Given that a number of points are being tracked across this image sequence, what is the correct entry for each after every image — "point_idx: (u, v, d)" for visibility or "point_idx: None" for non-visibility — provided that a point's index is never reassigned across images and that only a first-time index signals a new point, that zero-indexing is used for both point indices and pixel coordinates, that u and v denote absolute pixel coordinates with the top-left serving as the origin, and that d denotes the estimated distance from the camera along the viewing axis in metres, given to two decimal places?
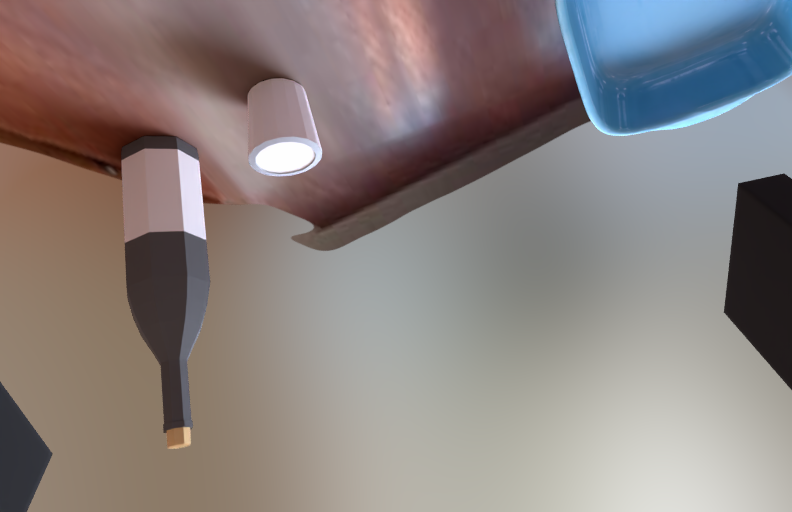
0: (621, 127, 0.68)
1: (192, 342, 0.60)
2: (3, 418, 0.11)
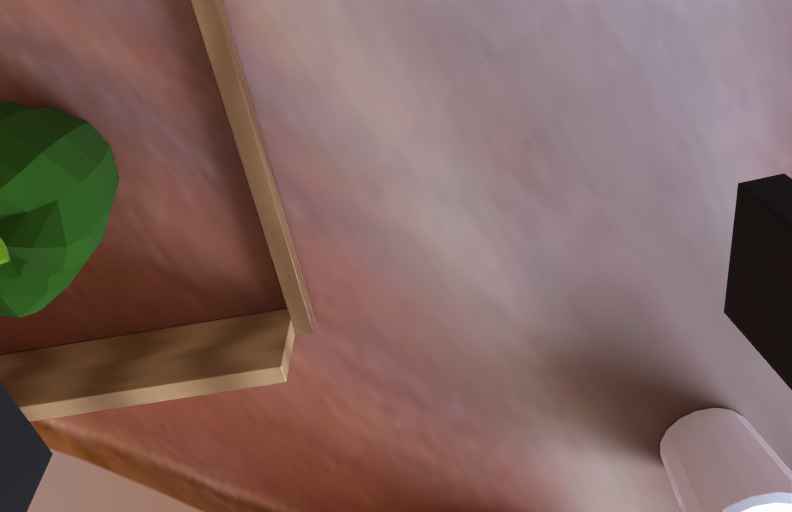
0: None
1: None
2: (3, 418, 0.11)
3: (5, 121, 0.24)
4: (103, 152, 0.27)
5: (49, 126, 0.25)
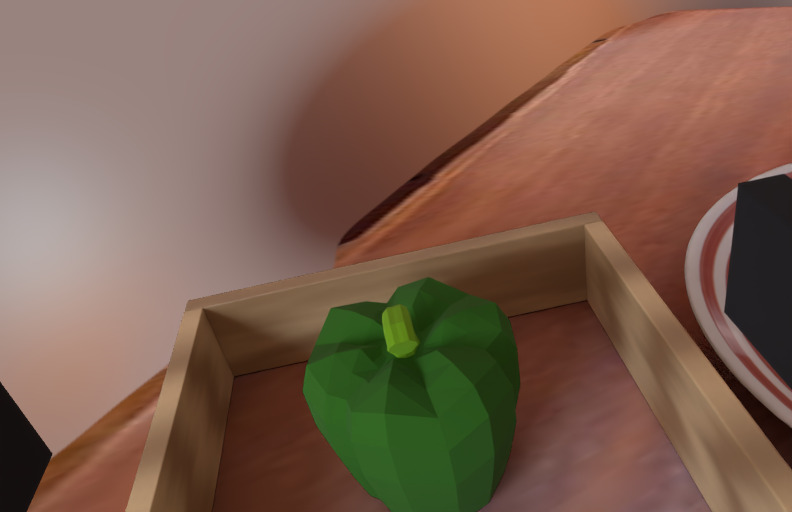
0: None
1: None
2: (3, 418, 0.11)
3: (513, 401, 0.23)
4: (461, 502, 0.23)
5: (502, 444, 0.23)
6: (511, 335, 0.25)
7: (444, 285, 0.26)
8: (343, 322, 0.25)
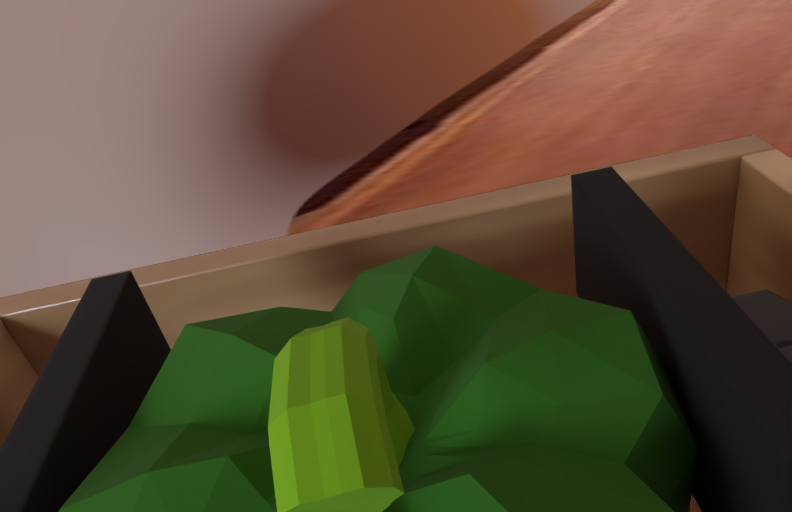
0: None
1: None
2: (152, 336, 0.12)
3: None
4: None
5: None
6: (677, 405, 0.09)
7: (476, 266, 0.10)
8: (207, 365, 0.09)
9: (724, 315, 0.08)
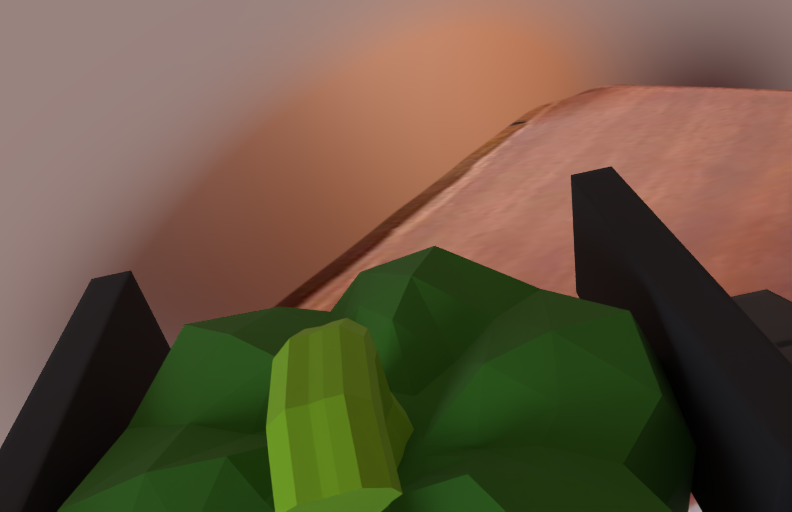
0: None
1: None
2: (152, 336, 0.12)
3: None
4: None
5: None
6: (676, 405, 0.09)
7: (475, 266, 0.10)
8: (206, 365, 0.09)
9: (724, 315, 0.08)
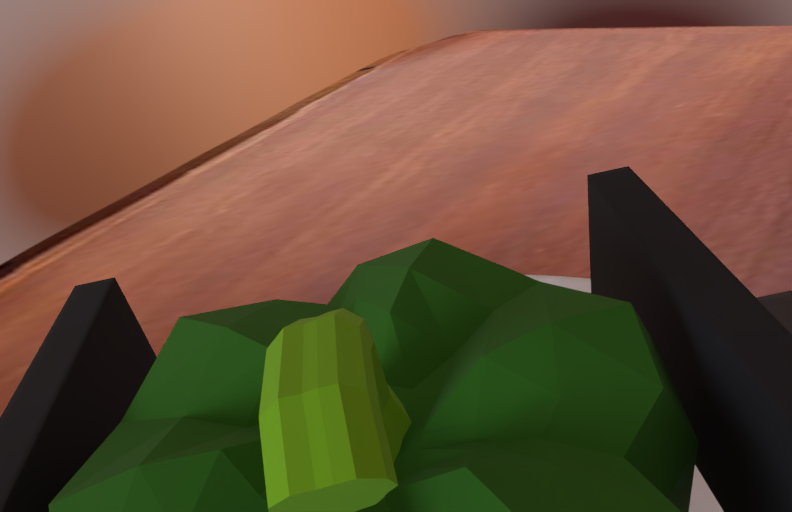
0: None
1: None
2: (136, 343, 0.12)
3: None
4: None
5: None
6: (677, 398, 0.08)
7: (474, 258, 0.10)
8: (200, 357, 0.09)
9: (751, 317, 0.08)
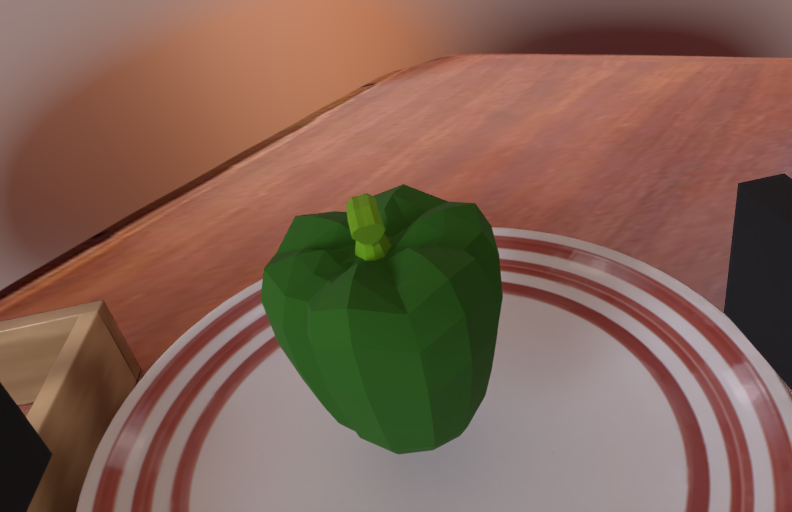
0: None
1: None
2: (3, 418, 0.11)
3: (494, 306, 0.21)
4: (436, 420, 0.21)
5: (481, 354, 0.21)
6: (492, 239, 0.22)
7: (420, 192, 0.24)
8: (308, 228, 0.23)
9: None
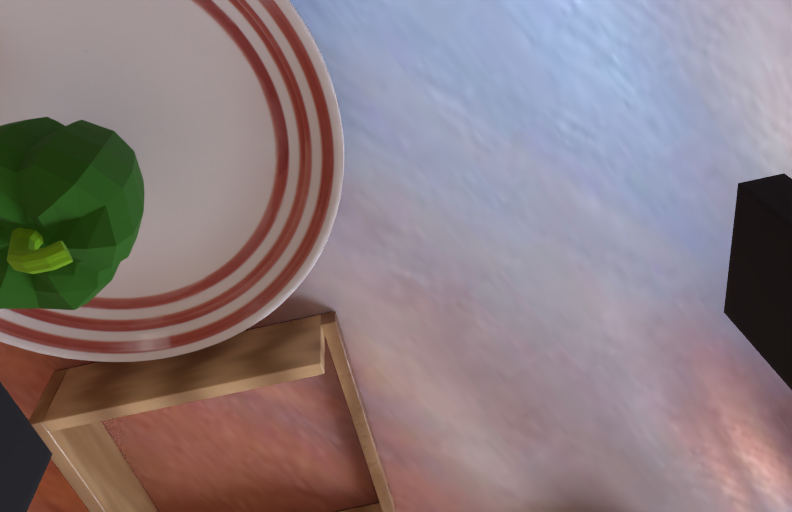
0: None
1: None
2: (3, 418, 0.11)
3: (52, 138, 0.27)
4: (131, 158, 0.31)
5: (88, 139, 0.28)
6: None
7: None
8: (12, 294, 0.28)
9: None
